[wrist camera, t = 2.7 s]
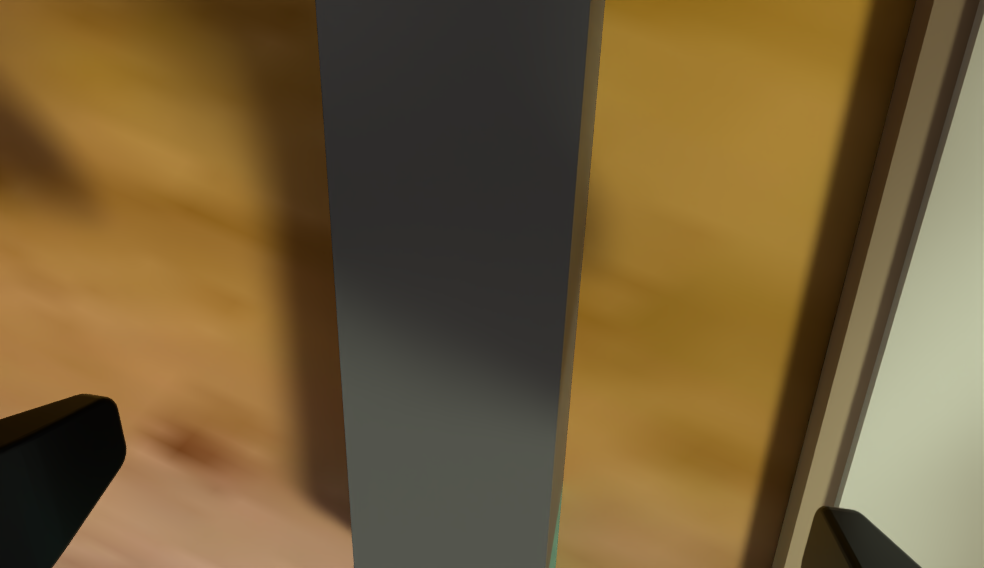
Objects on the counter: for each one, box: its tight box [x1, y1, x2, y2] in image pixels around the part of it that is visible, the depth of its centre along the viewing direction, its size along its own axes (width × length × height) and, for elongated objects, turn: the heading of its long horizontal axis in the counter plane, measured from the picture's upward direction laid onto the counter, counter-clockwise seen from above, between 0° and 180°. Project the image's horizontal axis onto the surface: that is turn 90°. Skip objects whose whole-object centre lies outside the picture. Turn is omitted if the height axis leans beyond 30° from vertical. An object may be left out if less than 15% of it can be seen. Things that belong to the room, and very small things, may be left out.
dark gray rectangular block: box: [315, 0, 605, 568], centre depth 11 cm, size 3×12×3 cm, turn 179°
